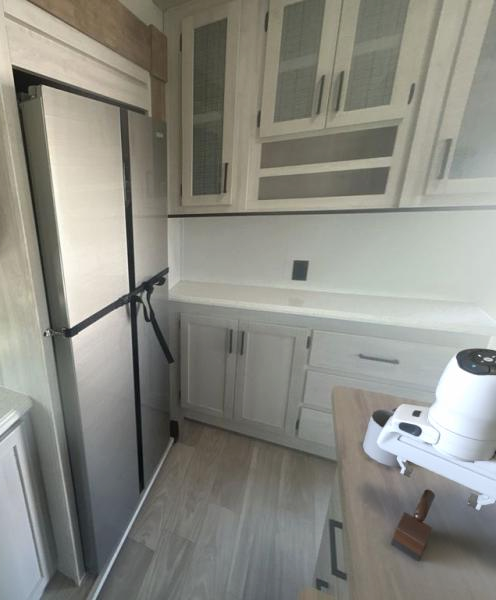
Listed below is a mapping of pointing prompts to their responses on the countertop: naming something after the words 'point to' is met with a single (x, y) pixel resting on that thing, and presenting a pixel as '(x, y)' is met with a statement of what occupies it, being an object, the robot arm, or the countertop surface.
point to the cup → (372, 435)
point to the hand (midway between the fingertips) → (437, 488)
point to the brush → (414, 528)
